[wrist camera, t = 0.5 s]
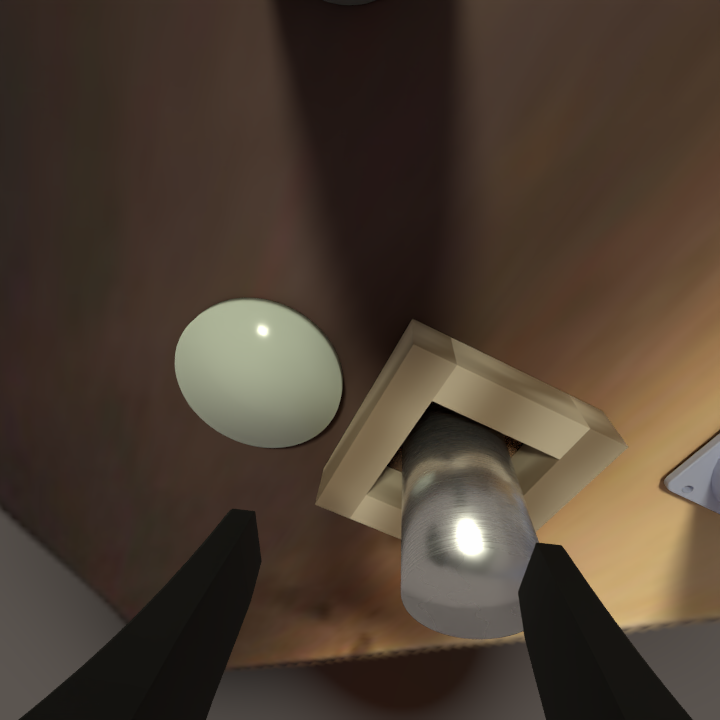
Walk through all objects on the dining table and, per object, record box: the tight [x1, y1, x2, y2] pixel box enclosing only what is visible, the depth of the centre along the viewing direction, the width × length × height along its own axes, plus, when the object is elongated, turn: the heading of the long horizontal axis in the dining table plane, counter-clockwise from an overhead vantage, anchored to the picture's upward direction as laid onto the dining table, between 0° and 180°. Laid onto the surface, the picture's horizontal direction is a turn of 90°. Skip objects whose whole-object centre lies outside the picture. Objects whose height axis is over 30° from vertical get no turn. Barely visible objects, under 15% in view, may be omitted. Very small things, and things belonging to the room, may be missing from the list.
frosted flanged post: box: [401, 403, 539, 639], centre depth 17 cm, size 5×5×8 cm
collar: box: [315, 319, 628, 539], centre depth 19 cm, size 10×10×2 cm
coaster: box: [175, 298, 343, 448], centre depth 19 cm, size 8×8×1 cm
